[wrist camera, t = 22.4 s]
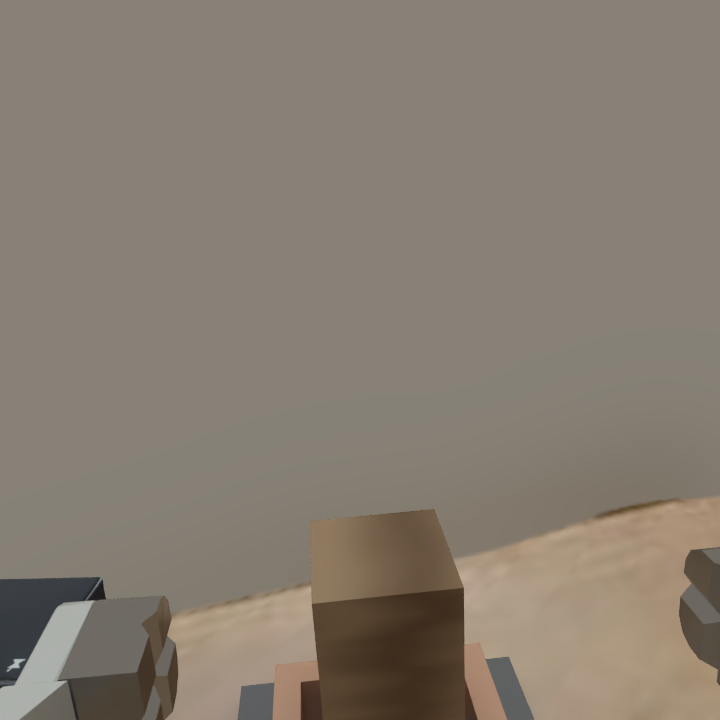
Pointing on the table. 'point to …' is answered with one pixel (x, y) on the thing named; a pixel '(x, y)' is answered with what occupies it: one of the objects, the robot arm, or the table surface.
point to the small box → (34, 615)
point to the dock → (303, 698)
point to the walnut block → (387, 618)
